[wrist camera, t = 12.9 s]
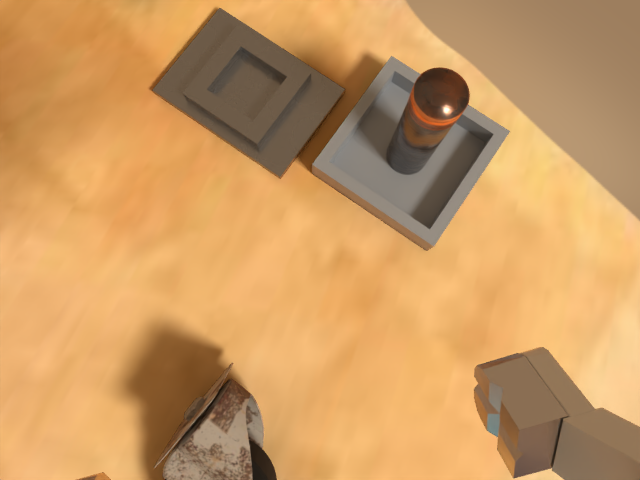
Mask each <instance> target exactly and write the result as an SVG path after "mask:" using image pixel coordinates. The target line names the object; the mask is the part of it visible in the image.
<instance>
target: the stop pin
mask: <svg viewBox="0 0 640 480" xmlns="http://www.w3.org/2000/svg"><path fill="white" fill-rule="evenodd" d="M469 97H470V94H469V88H468V86H467V84H466V82H465V80H464V79H463V78H462V77H461V76H460V75H459V74H458V73H456V72H454V71H453V70H450V69H447V68H432V69H429V70H427V71H425V72H423V73H422V74H421V75H420V76H419V77H418V78H417V80H416V81H415V83H414V86H413V88H412V91H411V93H410V95H409V98H408V102H407V104H406V106H405V109H404V111H403V113H402V116H401V118H400V120H399V123H398V125H397V127H396V130H395V132H394V134H393V137H392V139H391V141H390V144H389V146H388V148H387V153H386V156H387V161H388V163H389V165H390V166H391V167H392V169H394V170H395V171H396V172H398V173H400V174H404V175H411V174H415V173H417V172H419V171H420V170H421V169H423V167H424V166H425V165H426V163H427V162H428V160H429V159H430V157H431V156H432V155H433V153H434V152H435V150H436V149H437V147H438V146H439V145H440V143H441V142H442V140H443V139H444V137H445V136H446V135H447V133H448V132H449V130H450V129H451V128H452V126H453V125H454V124H455V123H456V122H457V120H458V119H459V117H460V116H461V115H462V113H463V112H464V110H465V109H466V107H467V105H468V103H469Z"/></svg>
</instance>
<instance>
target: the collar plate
mask: <svg viewBox="0 0 640 480" xmlns="http://www.w3.org/2000/svg"><path fill="white" fill-rule="evenodd" d="M152 91H153V92H154V93H155V94H156V95H158V96H159V97H161V98H162V99H163V100H165V101H166V102H168V103H169V104H171V105H172V106H174V107H175V108H177V109H178V110H180V111H181V112H183V113H184V114H186V115H187V116H188V117H190V118H191V119H193V120H194V121H196V122H197V123H199V124H200V125H202V126H203V127H205V128H206V129H208V130H209V131H211V132H212V133H213V134H215V135H216V136H218V137H219V138H221V139H222V140H224V141H225V142H227V143H228V144H230V145H231V146H233V147H234V148H235V149H237V150H238V151H240V152H241V153H243V154H244V155H246V156H247V157H249V158H250V159H252V160H253V161H255V162H256V163H258V164H259V165H260V166H262V167H263V168H265V169H266V170H268V171H269V172H271V173H272V174H274V175H275V176H277V177H278V178H280V179H281V178H282V176H283V175H284V174H285V172H286V171H287V170H288V168H289V167H290V166H291V164H292V163H293V162H294V160H295V159H296V157H297V156H298V155H299V153H300V152H301V151H302V149H303V148H304V147H305V145H306V144H307V143H308V141H309V140H310V139H311V137H312V136H313V134H314V133H315V132H316V130H317V129H318V128H319V126H320V125H321V124H322V122H323V121H324V120H325V118H326V117H327V116H328V114H329V113H330V111H331V110H332V109H333V107H334V106H335V105H336V103H337V102H338V101H339V99H340V98H341V97H342V95H343V94H344V93H345V89H344V88H342V87H341V86H339V85H338V84H336V83H335V82H333V81H332V80H330V79H329V78H327V77H325V76H324V75H322V74H321V73H319V72H318V71H316V70H315V69H313V68H312V67H310V66H309V65H307V64H306V63H304V62H302V61H301V60H299V59H298V58H296V57H295V56H293V55H292V54H290V53H289V52H287V51H286V50H284V49H282V48H281V47H279V46H278V45H276V44H275V43H273V42H272V41H270V40H269V39H267V38H266V37H264V36H263V35H261V34H259V33H258V32H256V31H255V30H253V29H252V28H250V27H249V26H247V25H246V24H244V23H243V22H241V21H239V20H238V19H236V18H235V17H233V16H232V15H230V14H229V13H227V12H226V11H224V10H223V9H221V8H219V9H218V11H217V12H216V13H215V14H214V15H213V17H212V18H211V19H210V20H209V22H208V23H207V24H206V25H205V26H204V28H203V29H202V30H201V31H200V33H199V34H198V35H197V36H196V37H195V39H194V40H193V41H192V42H191V44H190V45H189V46H188V47H187V48H186V50H185V51H184V52H183V53H182V55H181V56H180V57H179V58H178V59H177V61H176V62H175V63H174V64H173V65H172V67H171V68H170V69H169V70H168V72H167V73H166V74H165V75H164V76H163V78H162V79H161V80H160V81H159V83H158V84H157V85H156V86H155V87H154V89H153V90H152Z"/></svg>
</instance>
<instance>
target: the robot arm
mask: <svg viewBox="0 0 640 480" xmlns="http://www.w3.org/2000/svg"><path fill="white" fill-rule="evenodd" d="M474 377H475V378H476V380H477V382H478V385H477V386H476V387H475V388H474V399H475V403H476V407H477V411H478V413H479V416H480V418H481V420H482V422H483V424H484V426H485V428H486V430H487V431H489V432H490V433H492V434H493V435H495V436H497V437H498V445H497V450H498V452H499V453H500V455H501V457H502V459H503V461H504V463H505V464H506V466H507V468H508V470H509V472H510V473H511V475H512V477H513V478H517V477H521V476H525V475H528V474H532V473H536V472H539V471H543V470H547V469H551V468H552V471H554V472H555V473H556V474H558V475H559V476H560V477H562V478H563V479H564V480H640V427H639V426H637V425H635V424H633V423H631V422H629V421H627V420H625V419H623V418H621V417H619V416H617V415H615V414H613V413H612V412H610V411H608V410H606V409H604V408H598V409H594V407H593V406H592V405H591V404H590V402H589V401H588V400H587V399H586V397H585V396H584V395H583V394H582V392H581V391H580V390H579V388H578V387H577V386H576V385H575V383H574V382H573V381H572V380H571V378H570V377H569V376H568V375H567V373H566V372H565V371H564V370H563V368H562V367H561V366H560V365H559V363H558V362H557V361H556V360H555V358H554V357H553V356H552V355H551V353H550V352H549V351H548V350H547V349H545V348H543V347H539V348H535V349H532V350H529V351H526V352H522V353H516V354H513V355H510V356H506V357H503V358H500V359H497V360H493V361H490V362H487V363H483V364H480V365H477V366H476V367H475V372H474ZM77 480H111V479H110V478H109V477H108V476H107V475H106V474H105V473H104V472H102V473H98V474H95V475H91V476H88V477H84V478H80V479H77Z"/></svg>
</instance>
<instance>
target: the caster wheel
mask: <svg viewBox="0 0 640 480" xmlns="http://www.w3.org/2000/svg"><path fill="white" fill-rule="evenodd" d="M232 365H233V363H231V364H230V366H229V367H228V368H227V369H226V370H225V372H224V373H223V374H222V375H221V376H220V378H219V379H218V380H217V381H216V382H215V383H214V385H213V386H212V387H211V388H210V389H209V391H208V392H207V393H206V394H205V395H204V397H198V398H196V399H195V401H194V402H193V403H192V404H191V405H190V407H189V408H188V409H187V411H186V412H185V414H184V420H183V422H182V423H181V424H180V426H179V428H178V429H177V431H176V432H175V434H174V436H173V437H172V439H171V440H170V442H169V444H168V445H167V447H166V448H165V450H164V452H163V453H162V455H161V456H160V458H159V460H158V461H157V463H156V464H155V466H154V468H155V467H157V465H158V464H159V463H160V462H161V461H162V460H163V458H164V457H165V456H166V455H167V454H168V452H169V451H170V450H171V449H172V448H173V447H174V445H175V444H176V443H177V442H178V441H179V442H178V443H177V444H176V446H175V447H174V449H173V450H172V451H171V453H170V454H169V456H168V458H167V460H166V462H165V464H164V467H163V477H164V478H165V480H277V478H276V473H275V469H274V466H273V464H272V462H271V460H270V458H269V457H268V456H267V454H266V453H265V452H264V451H263V450H262V447H263V437H264V427H263V420H262V415H261V412H260V409H259V407H258V404H257V402H256V400H255V399H254V397H253V396H252V394H250V393H249V392H248V391H247V390H245V389H244V388H243V387H242V386H240V385H239V384H238V383H237V382H235V381H234V380H233V379H230V380H228V381H227V382H226V383H225V384H224V385H223V386H222V387H221V385H222V383H223V382H224V380H225V378H226V376H227V374H228V372H229V370H230V369H231V367H232ZM220 387H221V388H220ZM181 437H182V438H181ZM180 438H181V439H180ZM179 439H180V440H179Z"/></svg>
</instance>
